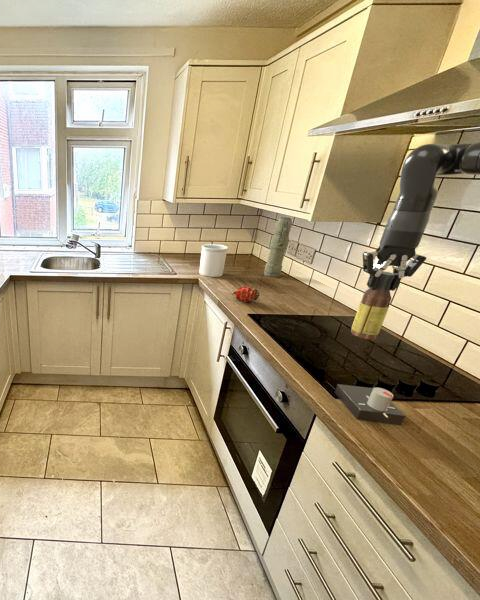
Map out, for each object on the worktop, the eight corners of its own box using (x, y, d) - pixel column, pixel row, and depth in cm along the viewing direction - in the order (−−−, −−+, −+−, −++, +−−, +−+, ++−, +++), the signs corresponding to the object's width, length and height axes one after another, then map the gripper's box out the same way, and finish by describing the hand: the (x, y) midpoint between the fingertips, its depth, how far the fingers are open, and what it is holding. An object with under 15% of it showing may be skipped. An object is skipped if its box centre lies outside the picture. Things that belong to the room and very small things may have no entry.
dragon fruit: (259, 306, 154) (232, 306, 159) (258, 292, 159) (231, 292, 163) (261, 297, 148) (233, 297, 152) (260, 282, 152) (232, 282, 156)
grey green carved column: (266, 277, 191) (280, 219, 178) (261, 272, 202) (274, 216, 189) (282, 278, 189) (298, 219, 176) (276, 273, 200) (290, 216, 187)
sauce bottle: (379, 337, 94) (407, 274, 87) (371, 343, 91) (400, 278, 84) (352, 328, 99) (377, 268, 92) (344, 333, 96) (369, 271, 89)
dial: (363, 402, 84) (369, 388, 82) (373, 399, 85) (379, 385, 83) (380, 413, 80) (387, 397, 78) (390, 409, 81) (398, 394, 79)
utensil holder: (193, 273, 198) (197, 246, 192) (204, 269, 208) (209, 242, 201) (216, 279, 188) (221, 250, 182) (227, 274, 198) (232, 246, 191)
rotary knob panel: (373, 397, 90) (377, 388, 89) (405, 429, 79) (410, 420, 78) (334, 392, 92) (337, 383, 91) (360, 423, 81) (364, 414, 80)
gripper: (382, 229, 81) (359, 291, 88) (449, 231, 78) (420, 295, 85) (364, 224, 88) (345, 282, 94) (426, 227, 85) (401, 286, 91)
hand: (380, 288), depth 89 cm, fingers closed on sauce bottle, 4 cm apart
